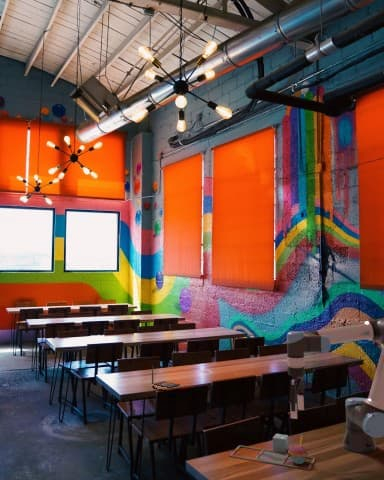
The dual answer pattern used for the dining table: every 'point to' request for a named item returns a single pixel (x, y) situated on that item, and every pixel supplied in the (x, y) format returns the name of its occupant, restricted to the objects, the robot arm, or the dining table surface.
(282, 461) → the board
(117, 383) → the dining table surface
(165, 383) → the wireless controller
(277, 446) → the grey cube
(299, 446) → the cupcake
